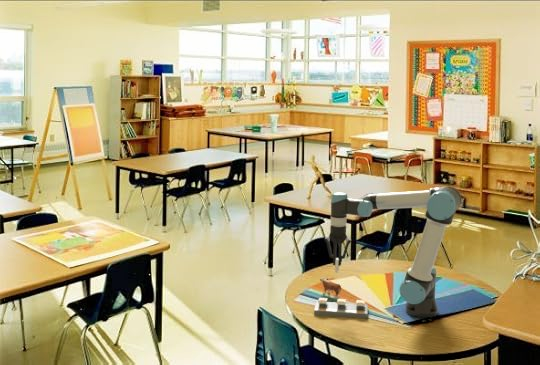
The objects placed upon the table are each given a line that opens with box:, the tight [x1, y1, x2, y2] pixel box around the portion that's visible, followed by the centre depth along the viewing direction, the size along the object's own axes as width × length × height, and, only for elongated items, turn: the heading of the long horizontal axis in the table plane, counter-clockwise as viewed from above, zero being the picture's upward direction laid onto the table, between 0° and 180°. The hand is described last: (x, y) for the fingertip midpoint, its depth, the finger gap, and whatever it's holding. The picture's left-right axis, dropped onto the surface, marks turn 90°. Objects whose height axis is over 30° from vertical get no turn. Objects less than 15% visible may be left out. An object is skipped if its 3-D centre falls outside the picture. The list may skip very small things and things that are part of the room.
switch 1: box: [317, 297, 329, 304], centre depth 286 cm, size 4×7×1 cm, turn 170°
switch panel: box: [313, 300, 369, 319], centre depth 284 cm, size 25×12×4 cm, turn 80°
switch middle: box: [336, 298, 347, 305], centre depth 284 cm, size 4×7×1 cm, turn 170°
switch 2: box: [355, 299, 366, 306], centre depth 283 cm, size 4×7×1 cm, turn 170°
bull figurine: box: [319, 277, 342, 299], centre depth 304 cm, size 4×13×8 cm, turn 42°
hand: (336, 271), depth 287 cm, fingers closed
